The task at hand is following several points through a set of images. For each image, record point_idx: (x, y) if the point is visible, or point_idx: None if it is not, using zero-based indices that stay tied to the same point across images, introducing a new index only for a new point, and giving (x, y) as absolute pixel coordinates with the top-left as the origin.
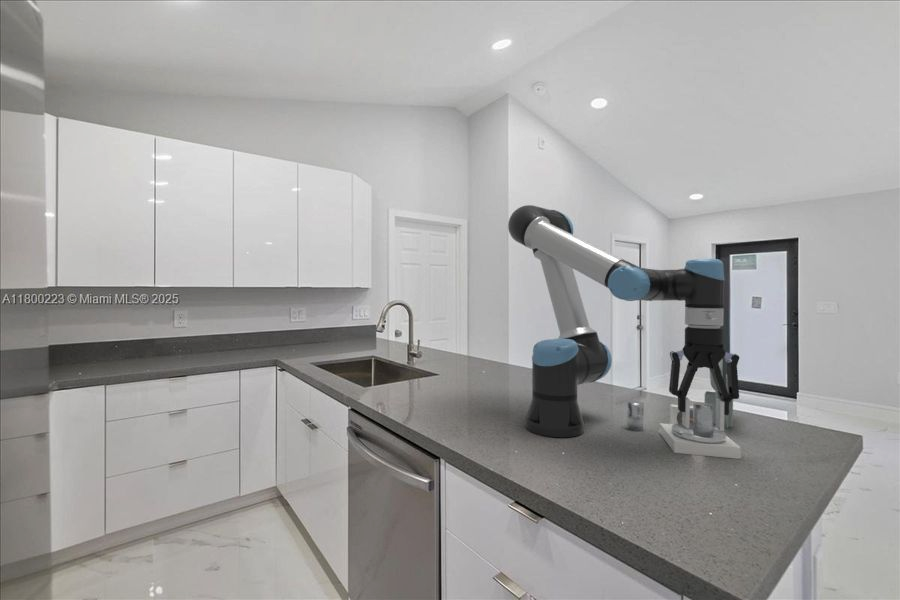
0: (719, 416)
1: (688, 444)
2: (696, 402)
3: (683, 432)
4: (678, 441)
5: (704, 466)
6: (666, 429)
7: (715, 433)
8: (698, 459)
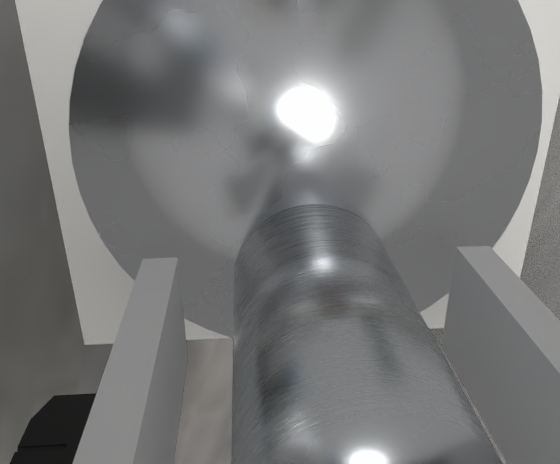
0: (498, 420)
1: None
2: (304, 448)
3: None
4: (112, 335)
5: (230, 433)
6: (38, 24)
7: (438, 201)
8: (226, 357)
